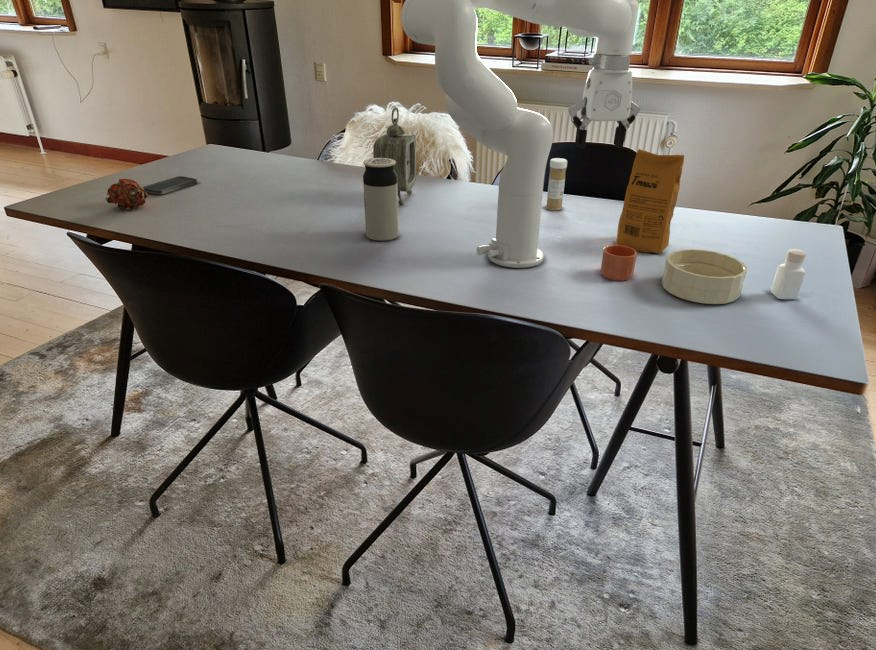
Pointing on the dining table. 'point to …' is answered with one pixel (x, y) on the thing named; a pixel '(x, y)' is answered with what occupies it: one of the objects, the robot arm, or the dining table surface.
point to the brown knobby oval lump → (126, 194)
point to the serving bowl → (704, 276)
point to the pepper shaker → (789, 276)
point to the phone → (169, 185)
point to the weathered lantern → (399, 154)
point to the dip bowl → (618, 262)
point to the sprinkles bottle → (556, 183)
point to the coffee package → (650, 202)
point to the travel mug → (380, 199)
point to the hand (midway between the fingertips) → (599, 146)
